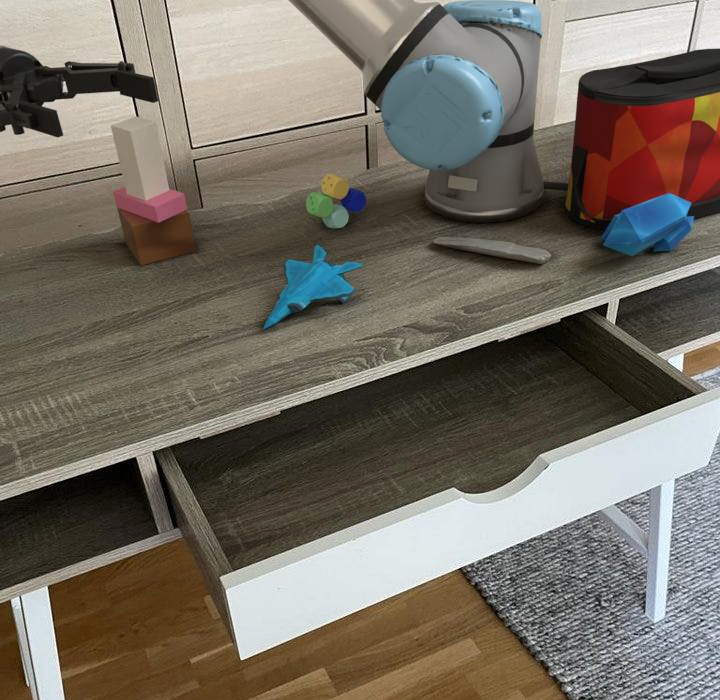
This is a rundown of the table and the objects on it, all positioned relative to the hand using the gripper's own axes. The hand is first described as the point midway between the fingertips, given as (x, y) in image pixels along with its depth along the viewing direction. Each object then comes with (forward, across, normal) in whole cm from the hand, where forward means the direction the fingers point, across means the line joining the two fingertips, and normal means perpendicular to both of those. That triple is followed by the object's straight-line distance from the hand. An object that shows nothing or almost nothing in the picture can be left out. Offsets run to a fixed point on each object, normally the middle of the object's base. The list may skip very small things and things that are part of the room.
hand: (107, 106), depth 99 cm
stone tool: (+38, -24, -16) cm, 48 cm away
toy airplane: (+29, 0, -16) cm, 33 cm away
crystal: (+56, -36, -12) cm, 67 cm away
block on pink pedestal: (+4, 0, -11) cm, 12 cm away
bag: (+48, -46, -16) cm, 69 cm away
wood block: (+4, 0, -16) cm, 17 cm away
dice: (+18, -18, -16) cm, 30 cm away
